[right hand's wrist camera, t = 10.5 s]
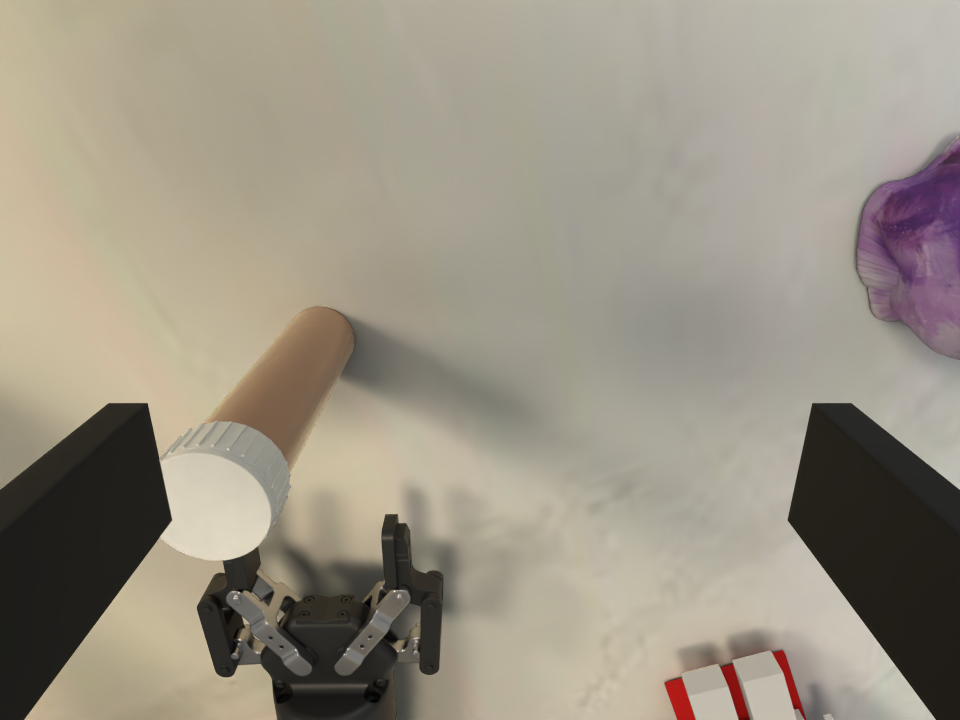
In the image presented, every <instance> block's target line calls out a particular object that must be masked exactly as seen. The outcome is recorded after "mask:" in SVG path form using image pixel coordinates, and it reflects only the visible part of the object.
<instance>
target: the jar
mask: <svg viewBox="0 0 960 720" xmlns="http://www.w3.org/2000/svg"><path fill="white" fill-rule="evenodd" d="M354 343H355V338H354V333H353V330H352V327H351V325H350V324H349V322H348V321H347V320H346V319H345V318H344V317H343V316H342V315H341V314H340V313H338V312H336V311H334V310H332V309H329V308H325V307H312V308H308V309H305V310H303V311H301V312H300V313H299V314H297V315H296V316H295V318H294V319H293V320H292V321H291V322H290V323H289V324H288V326H287V327H286V328H285V329H284V330H283V331H282V333H281V334H280V335H279V336H278V337H277V338H276V340H275V341H274V342H273V343H272V344H271V345H270V346H269V348H268V349H267V350H266V351H265V352H264V353H263V355H262V356H261V357H260V358H259V359H258V360H257V362H256V363H255V364H254V365H253V366H252V367H251V368H250V370H249V371H248V372H247V373H246V374H245V375H244V377H243V378H242V379H241V380H240V381H239V382H238V384H237V385H236V386H235V387H234V388H233V389H232V391H231V392H230V393H229V394H228V395H227V396H226V397H225V399H224V400H223V401H222V402H221V403H220V404H219V406H218V407H217V408H216V409H215V410H214V411H213V413H212V414H211V415H210V416H209V417H208V418H207V419H206V421H205V422H204V424H206V423H211V422H214V421H218V422H221V421H224V422H229V421H232V422H234V423H239V424H243V425H247V426H249V427H251V428H253V429H255V430H257V431H260V432H261V433H262V434H264V435H265V436H266V437H268V438H269V439H271V440H272V442H273V443H274V444H275V445H276V446H277V447H278V448H279V450H281V453H282V454H283V456H284V458H285V460H286V461H287V463H288V464H287V466H288V470H289V473H291V471H292V469H293V467H294V465H295V463H296V461H297V459H298V457H299V455H300V453H301V452H302V450H303V448H304V446H305V444H306V442H307V440H308V438H309V436H310V434H311V432H312V430H313V428H314V426H315V424H316V422H317V420H318V418H319V416H320V414H321V412H322V410H323V408H324V407H325V405H326V403H327V401H328V399H329V397H330V395H331V393H332V391H333V389H334V387H335V385H336V383H337V381H338V379H339V377H340V375H341V373H342V371H343V369H344V367H345V365H346V363H347V362H348V360H349V358H350V356H351V354H352V351H353V349H354Z"/></svg>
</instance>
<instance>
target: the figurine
mask: <svg viewBox="0 0 960 720" xmlns="http://www.w3.org/2000/svg"><path fill="white" fill-rule="evenodd" d="M856 269H857V271H858V273H859V275H860V277H861V278H862V281H863V283H864V285H865V286H867V287H868V293H869V297H870V299H869V300H870V306H871V310H872V312H873V314H874V316H875V317H876V318H878V319H882V320H884V321H897V320H903V321H904V323H905V324H906V325H907V326H908V327H909V328H910V329H911V330H912V331H913V332H914V333H915V334H916V335H917V336H918V338H919V339H920V340H921V341H922V342H923V343H924V344H926V345H927V346H928V347H929V348H931V349H932V350H933V351H935V352H937V353H940V354H942V355H945V356H948V357H951V358H955V359H958V360H960V135H959V136H958V137H956V138H955V139H954V140H952V141H951V142H950V143H949V144H948V145H947V147H946V148H945V149H944V150H943V151H942V152H941V153H940V154H939V155H938V156H937V157H936V158H935V159H934V160H933V161H932V162H931V163H930V164H929V165H928V166H927V167H926V168H925V169H924V170H923V171H921V172H919V173H918V174H916V175H914V176H912V177H909V178H906V179H904V180H897V181H889V182H887V183H885V184H883V185H882V186H880V187H879V188H878V189H877V190H876V191H875V192H874V193H873V194H872V196H871V197H870V199H869V200H868V202H867V203H866V205H865V207H864V209H863V211H862V218H861V224H860V231H859V238H858V245H857V268H856Z"/></svg>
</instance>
